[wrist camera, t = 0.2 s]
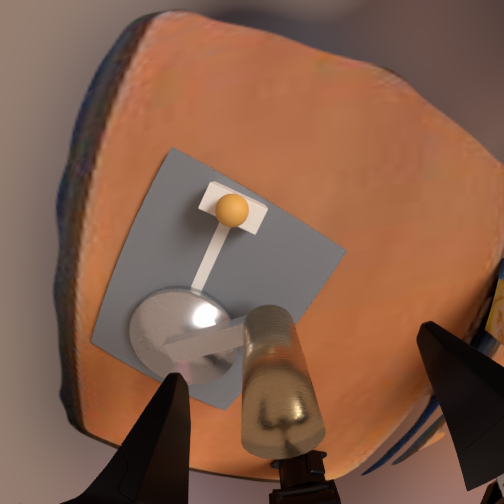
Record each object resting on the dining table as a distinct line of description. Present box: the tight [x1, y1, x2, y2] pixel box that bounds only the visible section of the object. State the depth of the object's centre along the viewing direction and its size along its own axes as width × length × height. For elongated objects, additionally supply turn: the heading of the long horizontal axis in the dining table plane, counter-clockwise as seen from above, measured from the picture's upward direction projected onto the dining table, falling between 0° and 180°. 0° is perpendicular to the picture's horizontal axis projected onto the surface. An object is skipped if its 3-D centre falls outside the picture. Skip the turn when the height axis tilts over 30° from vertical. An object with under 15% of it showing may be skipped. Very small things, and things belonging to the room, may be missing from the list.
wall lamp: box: [129, 286, 325, 459], centre depth 18 cm, size 15×10×14 cm, turn 109°
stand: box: [91, 147, 347, 410], centre depth 22 cm, size 22×17×6 cm
